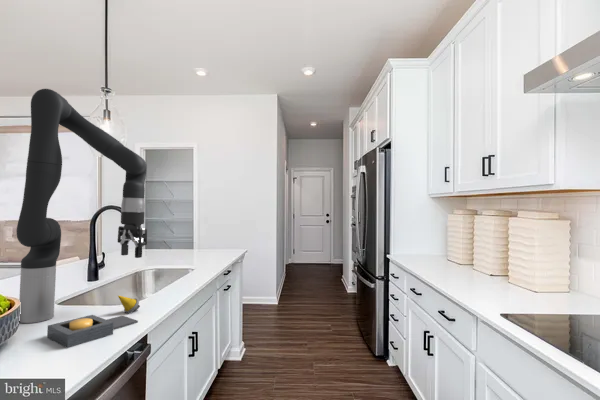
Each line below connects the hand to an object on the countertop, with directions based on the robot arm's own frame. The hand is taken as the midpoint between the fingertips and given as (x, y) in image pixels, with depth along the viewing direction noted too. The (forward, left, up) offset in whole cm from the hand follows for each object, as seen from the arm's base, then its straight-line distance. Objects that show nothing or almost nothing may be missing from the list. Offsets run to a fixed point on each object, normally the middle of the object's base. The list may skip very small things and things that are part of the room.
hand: (131, 256), depth 119 cm
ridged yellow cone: (0, 0, -20) cm, 20 cm away
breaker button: (+9, -20, -18) cm, 28 cm away
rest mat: (+7, -8, -20) cm, 23 cm away
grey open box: (+9, -20, -20) cm, 30 cm away
